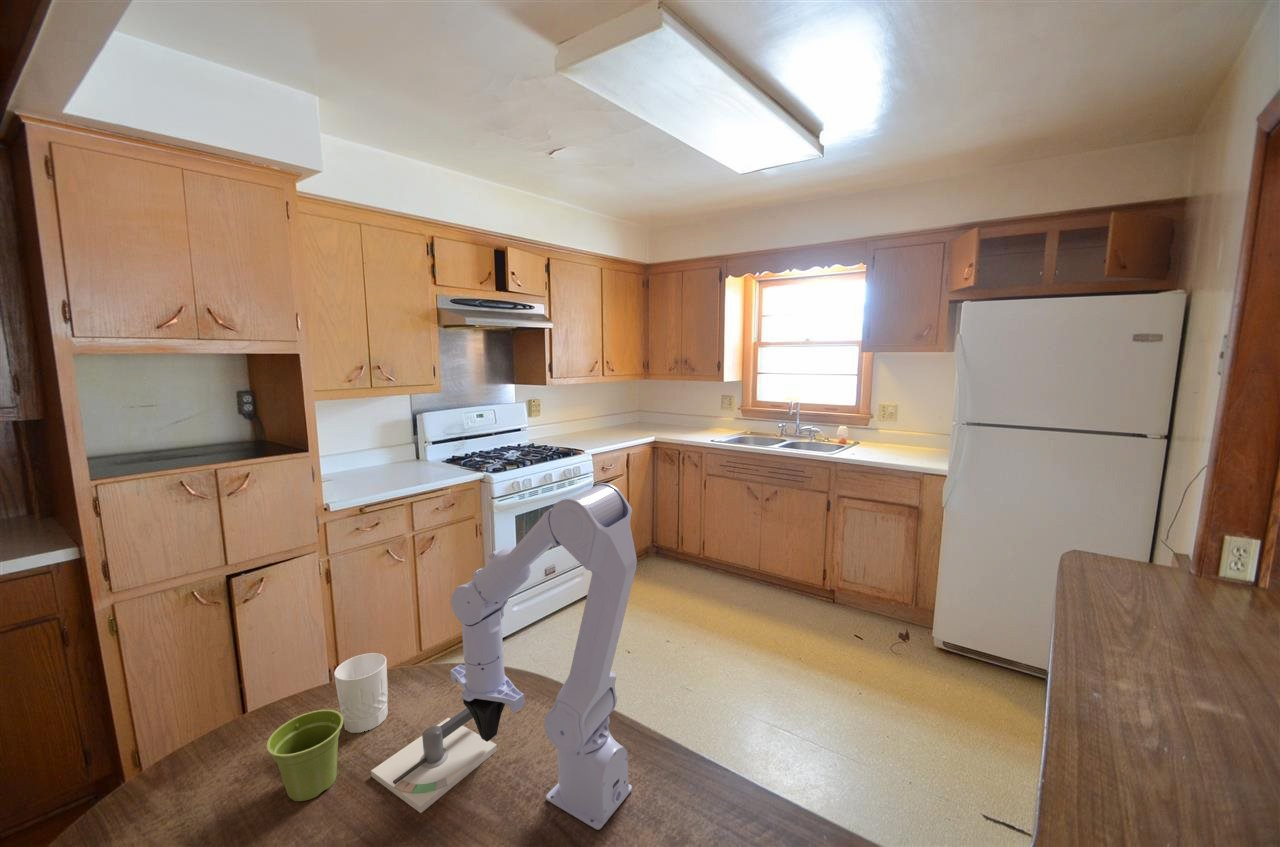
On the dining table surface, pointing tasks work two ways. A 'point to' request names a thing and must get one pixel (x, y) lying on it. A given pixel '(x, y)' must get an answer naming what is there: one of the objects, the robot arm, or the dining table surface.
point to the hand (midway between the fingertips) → (489, 736)
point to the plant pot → (307, 752)
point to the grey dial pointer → (437, 740)
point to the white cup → (362, 691)
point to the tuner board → (433, 767)
